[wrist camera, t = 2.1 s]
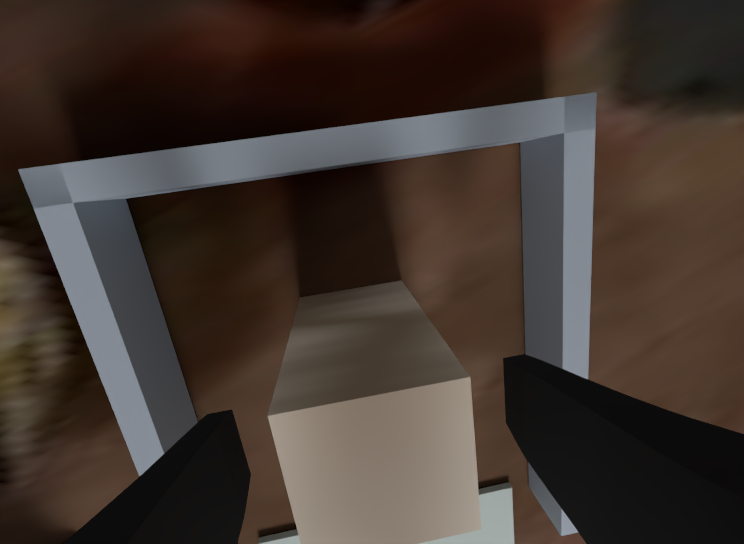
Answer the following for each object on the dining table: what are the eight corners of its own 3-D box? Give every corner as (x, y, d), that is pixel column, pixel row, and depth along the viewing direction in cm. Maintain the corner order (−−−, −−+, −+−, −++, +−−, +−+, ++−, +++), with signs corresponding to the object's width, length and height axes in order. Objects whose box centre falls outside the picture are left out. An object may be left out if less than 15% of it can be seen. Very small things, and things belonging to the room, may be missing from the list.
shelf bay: (217, 555, 16) (197, 622, 13) (84, 172, 11) (18, 169, 9) (547, 481, 17) (583, 530, 15) (545, 109, 13) (596, 92, 10)
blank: (318, 387, 14) (307, 569, 8) (299, 297, 13) (267, 415, 7) (412, 369, 15) (481, 529, 8) (401, 280, 14) (470, 376, 7)
